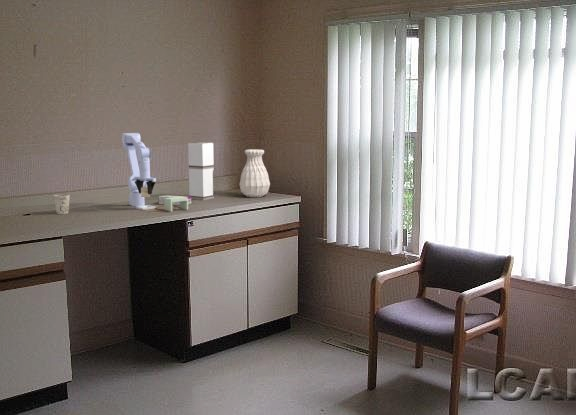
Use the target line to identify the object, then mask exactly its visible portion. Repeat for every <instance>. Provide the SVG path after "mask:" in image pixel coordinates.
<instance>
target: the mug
mask: <svg viewBox="0 0 576 415" xmlns="http://www.w3.org/2000/svg"><path fill="white" fill-rule="evenodd" d="M70 196H71V195H70V194H69V193H58V194H54V195H53V199H54V201H53V202H54V207H55V211H56V214H57V215H66V214H69V211H70V210H69V209H70V200H71V199H70Z"/></svg>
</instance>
